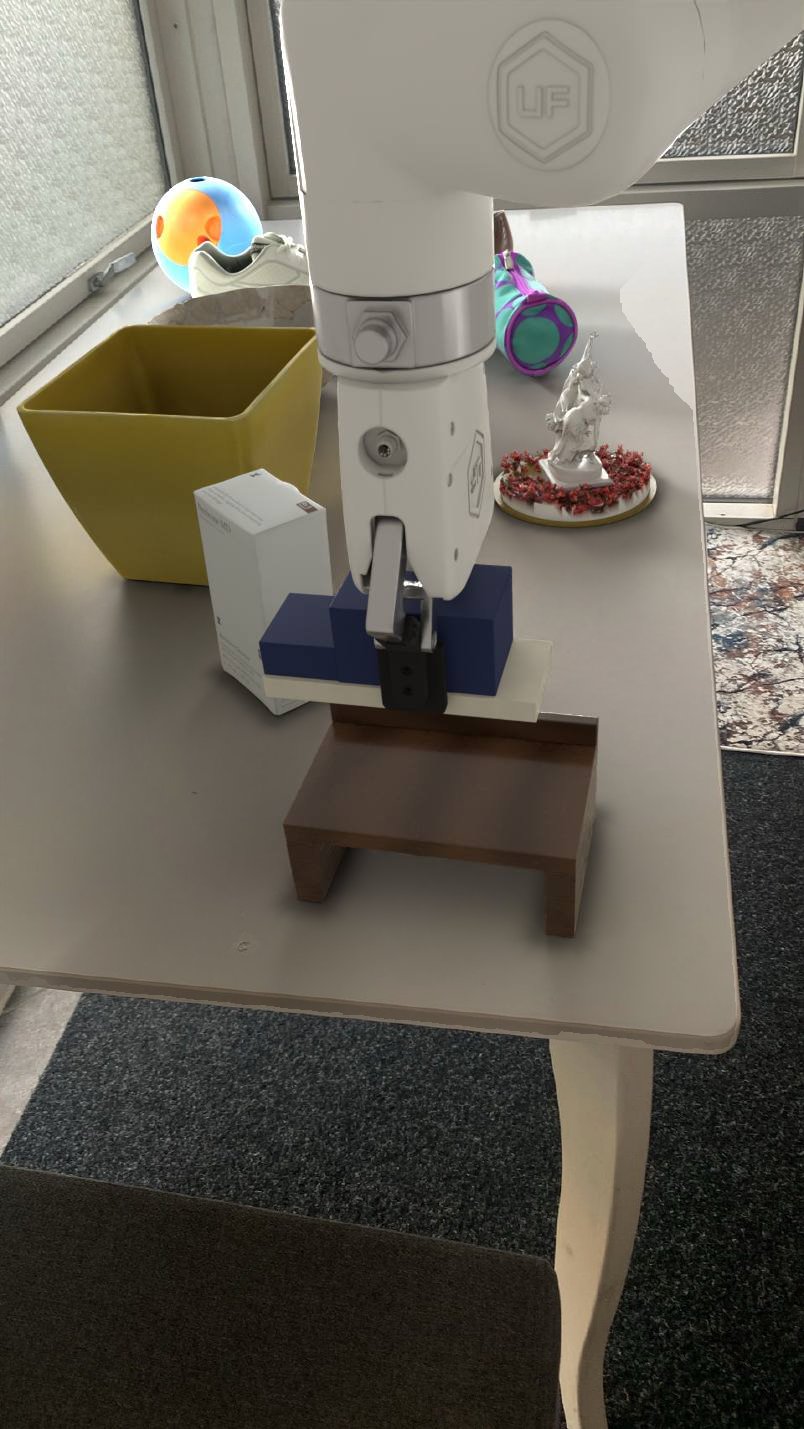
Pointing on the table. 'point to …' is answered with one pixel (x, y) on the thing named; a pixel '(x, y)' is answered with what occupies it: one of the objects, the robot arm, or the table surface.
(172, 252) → the treat dispenser ball
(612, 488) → the figurine
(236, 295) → the ceramic bowl
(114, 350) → the flower pot
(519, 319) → the pencil case
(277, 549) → the cosmetic box
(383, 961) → the table surface
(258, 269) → the running shoe
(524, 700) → the navy stepped block
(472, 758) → the shelf
